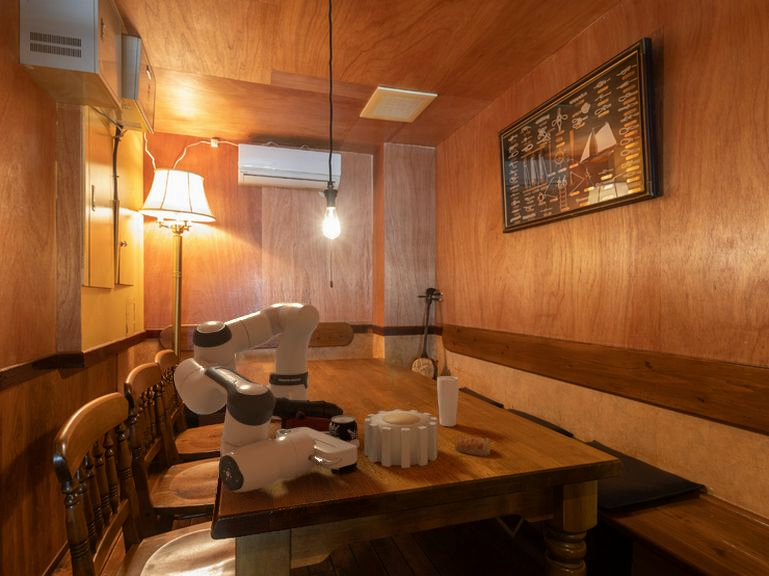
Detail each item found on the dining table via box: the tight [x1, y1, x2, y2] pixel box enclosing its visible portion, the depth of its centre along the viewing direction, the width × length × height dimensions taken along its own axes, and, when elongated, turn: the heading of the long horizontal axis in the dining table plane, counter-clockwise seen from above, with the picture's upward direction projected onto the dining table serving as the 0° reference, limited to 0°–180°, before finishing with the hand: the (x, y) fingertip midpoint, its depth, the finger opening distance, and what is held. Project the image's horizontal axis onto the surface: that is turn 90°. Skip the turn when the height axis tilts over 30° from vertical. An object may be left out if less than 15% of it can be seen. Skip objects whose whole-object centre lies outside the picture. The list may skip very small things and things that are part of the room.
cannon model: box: [272, 397, 344, 432], centre depth 122 cm, size 13×30×15 cm, turn 112°
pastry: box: [454, 436, 491, 457], centre depth 117 cm, size 9×7×4 cm
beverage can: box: [330, 414, 358, 474], centre depth 104 cm, size 7×7×12 cm
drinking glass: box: [436, 375, 460, 428], centre depth 140 cm, size 7×7×15 cm
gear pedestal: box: [364, 409, 439, 469], centre depth 115 cm, size 19×19×9 cm
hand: (346, 438), depth 105 cm, fingers closed on beverage can, 7 cm apart
